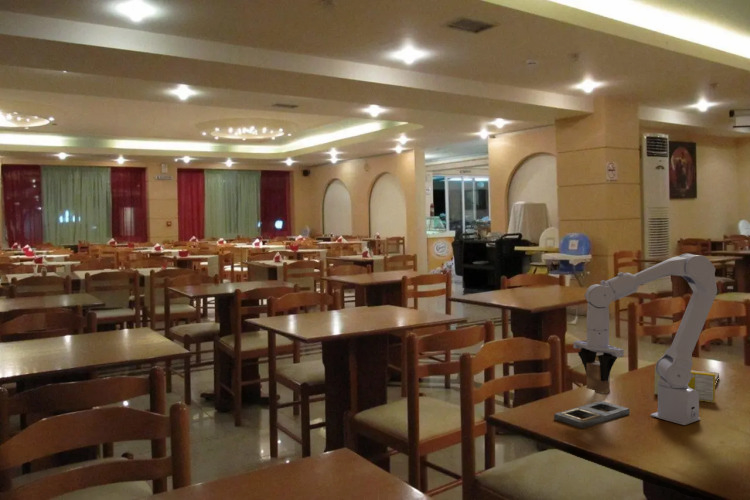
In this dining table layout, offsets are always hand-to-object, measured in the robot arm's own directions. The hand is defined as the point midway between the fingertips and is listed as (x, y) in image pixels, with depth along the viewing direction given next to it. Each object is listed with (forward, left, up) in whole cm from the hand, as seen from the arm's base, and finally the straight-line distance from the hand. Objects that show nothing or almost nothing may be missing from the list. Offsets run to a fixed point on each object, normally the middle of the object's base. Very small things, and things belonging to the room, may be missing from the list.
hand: (597, 378), depth 165 cm
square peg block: (0, 0, -3) cm, 3 cm away
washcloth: (+2, -54, -11) cm, 55 cm away
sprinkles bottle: (+13, -20, -10) cm, 26 cm away
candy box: (-5, -34, -10) cm, 36 cm away
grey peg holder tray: (0, +2, -10) cm, 10 cm away
